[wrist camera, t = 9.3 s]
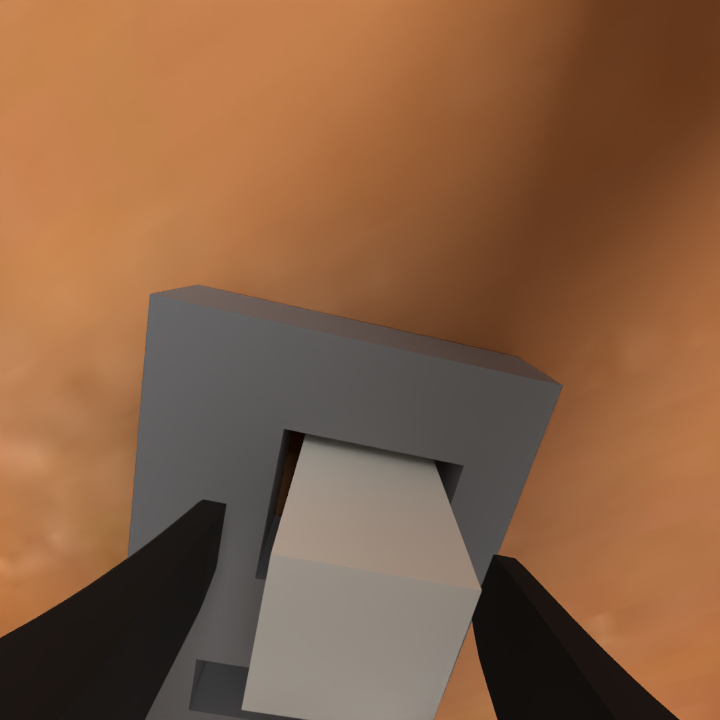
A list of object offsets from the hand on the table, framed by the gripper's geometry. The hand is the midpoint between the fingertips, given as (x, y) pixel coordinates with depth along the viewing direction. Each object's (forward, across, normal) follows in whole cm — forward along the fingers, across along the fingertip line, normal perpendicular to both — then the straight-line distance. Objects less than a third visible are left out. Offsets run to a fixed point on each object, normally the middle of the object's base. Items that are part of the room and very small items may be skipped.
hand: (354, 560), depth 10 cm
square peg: (+4, 0, 0) cm, 5 cm away
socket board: (+4, +1, +4) cm, 6 cm away
